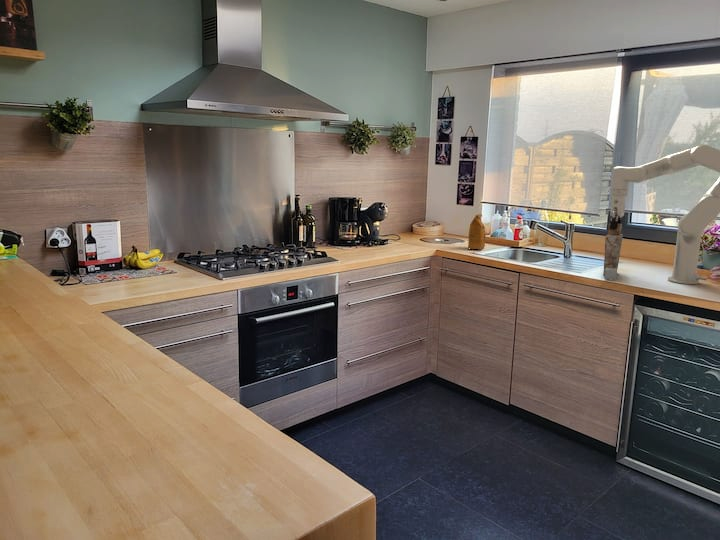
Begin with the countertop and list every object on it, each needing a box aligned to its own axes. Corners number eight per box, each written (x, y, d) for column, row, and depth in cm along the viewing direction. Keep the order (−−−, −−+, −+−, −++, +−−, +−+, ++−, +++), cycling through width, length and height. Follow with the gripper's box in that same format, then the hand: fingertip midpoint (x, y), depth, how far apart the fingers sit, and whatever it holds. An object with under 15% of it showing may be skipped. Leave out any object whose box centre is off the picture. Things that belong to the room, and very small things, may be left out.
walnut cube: (620, 234, 268) (621, 224, 267) (619, 235, 264) (620, 224, 263) (609, 233, 271) (610, 223, 270) (607, 234, 267) (608, 224, 266)
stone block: (617, 277, 264) (621, 236, 260) (601, 276, 267) (605, 235, 263) (618, 272, 275) (623, 233, 271) (603, 271, 279) (607, 232, 275)
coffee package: (487, 248, 348) (489, 213, 343) (481, 251, 337) (483, 215, 333) (472, 247, 353) (473, 212, 348) (465, 249, 342) (467, 214, 338)
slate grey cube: (615, 278, 262) (616, 268, 261) (616, 280, 257) (617, 270, 256) (604, 277, 264) (605, 267, 263) (604, 279, 259) (605, 269, 258)
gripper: (624, 194, 254) (620, 230, 258) (630, 192, 268) (626, 227, 272) (606, 193, 258) (603, 229, 262) (613, 191, 273) (610, 226, 276)
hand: (615, 228), depth 267 cm, fingers open, 9 cm apart
